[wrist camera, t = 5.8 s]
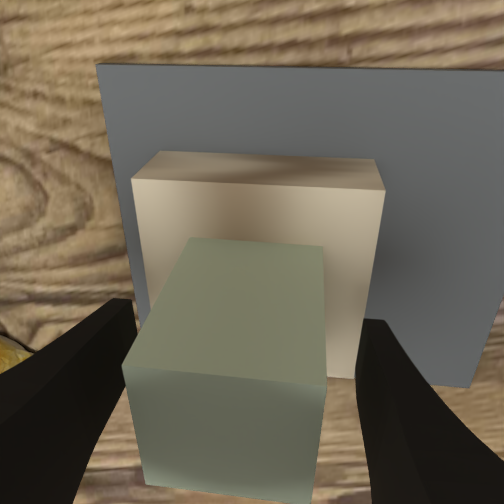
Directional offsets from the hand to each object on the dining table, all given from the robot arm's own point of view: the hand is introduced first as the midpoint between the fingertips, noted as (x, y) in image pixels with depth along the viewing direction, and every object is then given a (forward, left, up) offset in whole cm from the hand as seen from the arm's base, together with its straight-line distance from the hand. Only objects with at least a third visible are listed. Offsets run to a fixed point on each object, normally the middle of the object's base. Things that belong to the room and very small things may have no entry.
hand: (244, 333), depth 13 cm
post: (0, 0, -2) cm, 2 cm away
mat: (-2, 0, -6) cm, 6 cm away
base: (0, 0, -5) cm, 5 cm away
